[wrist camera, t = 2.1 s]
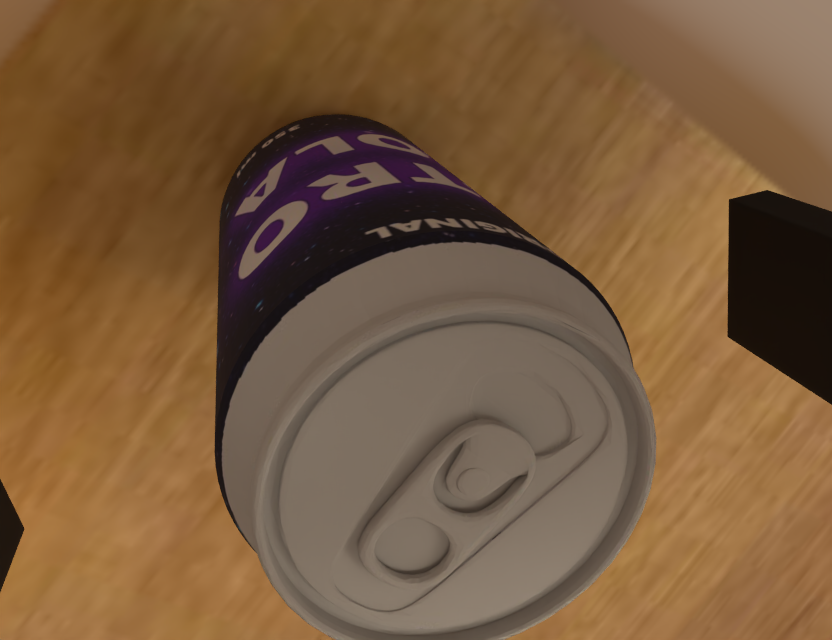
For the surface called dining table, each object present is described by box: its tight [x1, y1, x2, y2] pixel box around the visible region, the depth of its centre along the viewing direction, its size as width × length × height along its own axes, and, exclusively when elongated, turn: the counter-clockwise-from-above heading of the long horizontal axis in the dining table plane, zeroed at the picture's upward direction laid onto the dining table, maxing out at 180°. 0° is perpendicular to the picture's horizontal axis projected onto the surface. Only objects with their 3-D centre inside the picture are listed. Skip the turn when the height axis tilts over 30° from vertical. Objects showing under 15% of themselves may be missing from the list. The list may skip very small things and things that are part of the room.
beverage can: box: [215, 114, 656, 640], centre depth 14 cm, size 6×6×12 cm
